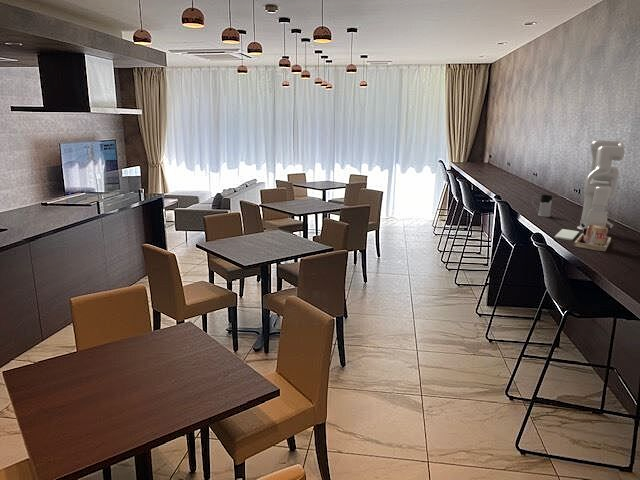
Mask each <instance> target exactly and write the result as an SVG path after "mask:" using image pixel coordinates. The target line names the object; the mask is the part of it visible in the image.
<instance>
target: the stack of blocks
mask: <svg viewBox="0 0 640 480" xmlns="http://www.w3.org/2000/svg"><path fill="white" fill-rule="evenodd" d="M583 231H584V228H583V230H582V232H583ZM608 232H609V230H608V227H607V226H601V225H594V224H592V226H591V227H590V226H588V227H587V231H586V235H585V236H584V234H583V235H582V239H581V240H582V241H583V242H585V244H591V245H598V246H605V244H606V242H607V241H606V238H607V237H608Z"/></svg>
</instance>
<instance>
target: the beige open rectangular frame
mask: <svg viewBox="0 0 640 480" xmlns="http://www.w3.org/2000/svg"><path fill="white" fill-rule="evenodd" d="M582 235H583V232H582V233H581V234H580V235H579V236H578V237H577V238H576V239H575V241H574V242H573V247H574V248H583V249H587V250H593V251H601V252H606V250H607V249H608V247H609V245H610V243H611V240H612V237H610V236H607V238H606V242H605V246H598V245H591V244H587V243H586V242H585V243H583V242H581V241H582V240H583V239H582Z"/></svg>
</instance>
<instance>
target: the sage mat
mask: <svg viewBox="0 0 640 480" xmlns="http://www.w3.org/2000/svg"><path fill="white" fill-rule="evenodd" d="M579 234H580V230H579V231H577V230H571V229H565V228H562V229H560V230H559V232H557V233H556V234H555V236H554V239H559V240H566V241H574V239H575V238H576V237H577V236H578V235H579Z"/></svg>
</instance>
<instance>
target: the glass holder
mask: <svg viewBox="0 0 640 480" xmlns="http://www.w3.org/2000/svg"><path fill="white" fill-rule="evenodd" d="M534 198H537V202H538V203H539V209H538V208H537V207H536V206H535V205H534V200H533V199H534ZM531 203H532V206H533V208H535V209H536V211H537V213H538V214H537V216H538V217H545V218H549V217H551V209H552V203H553V195H551V194H550V195H549V194H542V195H541V196H540V199H539V197H538V196H536V195H534V196H533V197H532V199H531Z"/></svg>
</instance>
